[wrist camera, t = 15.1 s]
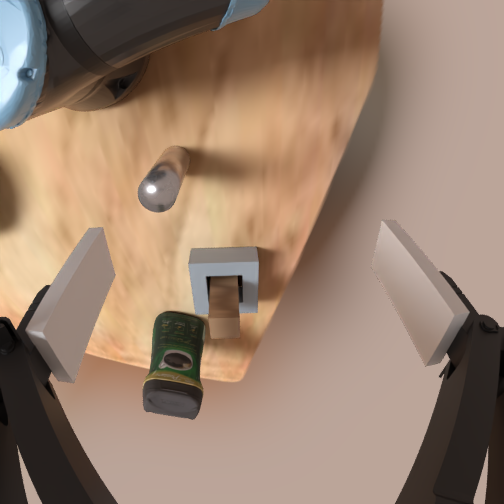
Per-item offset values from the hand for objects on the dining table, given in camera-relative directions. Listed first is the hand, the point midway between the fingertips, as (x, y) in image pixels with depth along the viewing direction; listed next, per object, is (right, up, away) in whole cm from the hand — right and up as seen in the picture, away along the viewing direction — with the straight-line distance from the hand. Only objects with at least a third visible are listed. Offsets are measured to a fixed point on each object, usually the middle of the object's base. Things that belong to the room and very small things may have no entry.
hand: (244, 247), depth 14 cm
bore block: (-4, -4, +36) cm, 37 cm away
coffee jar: (-13, -14, +43) cm, 47 cm away
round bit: (-10, +12, +26) cm, 30 cm away
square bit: (-4, -4, +36) cm, 37 cm away
